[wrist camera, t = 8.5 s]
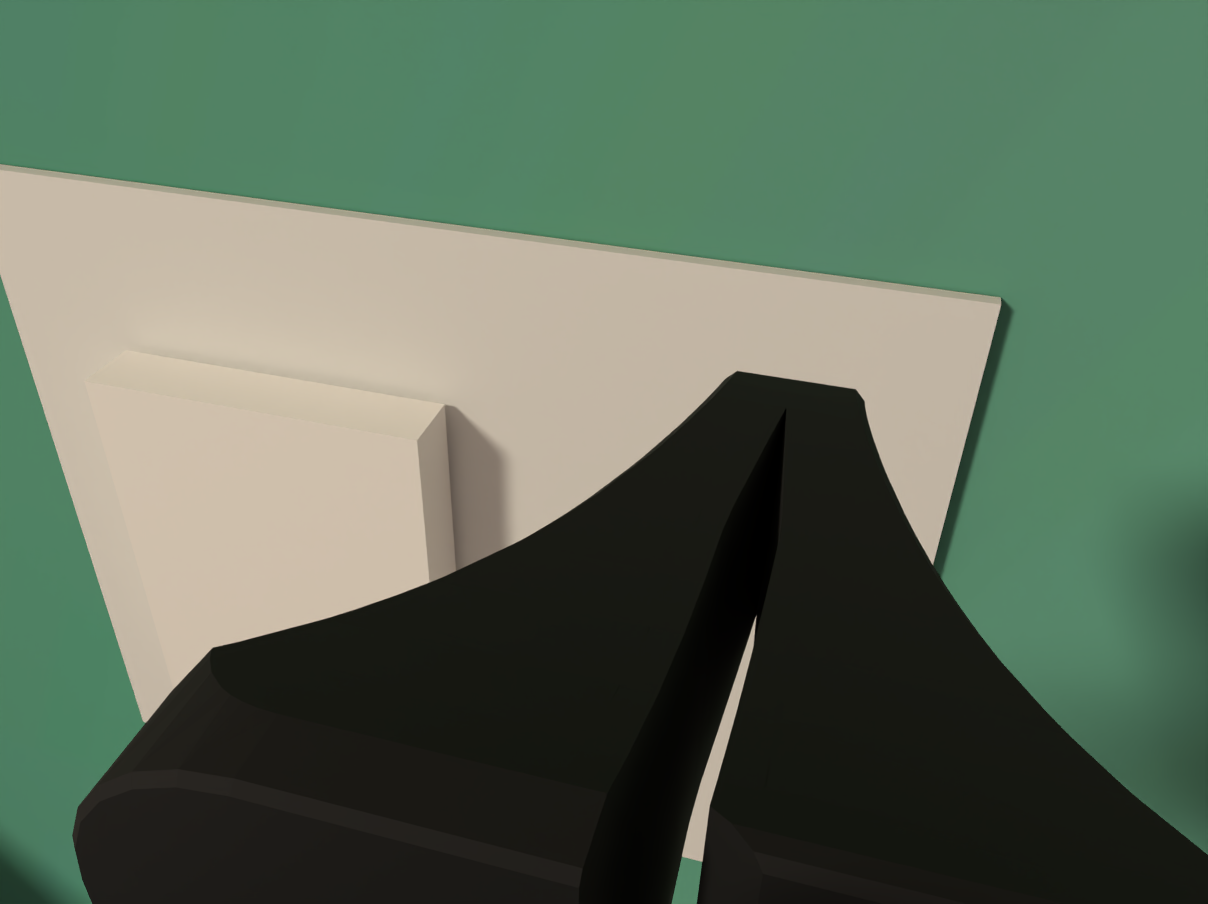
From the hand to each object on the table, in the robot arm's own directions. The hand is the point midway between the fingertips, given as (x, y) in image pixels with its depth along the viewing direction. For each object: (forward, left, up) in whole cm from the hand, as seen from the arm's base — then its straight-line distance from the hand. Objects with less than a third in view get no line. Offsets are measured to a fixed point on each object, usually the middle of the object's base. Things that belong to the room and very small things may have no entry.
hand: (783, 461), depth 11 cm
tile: (+8, +11, -8) cm, 16 cm away
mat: (+8, +11, -9) cm, 17 cm away
